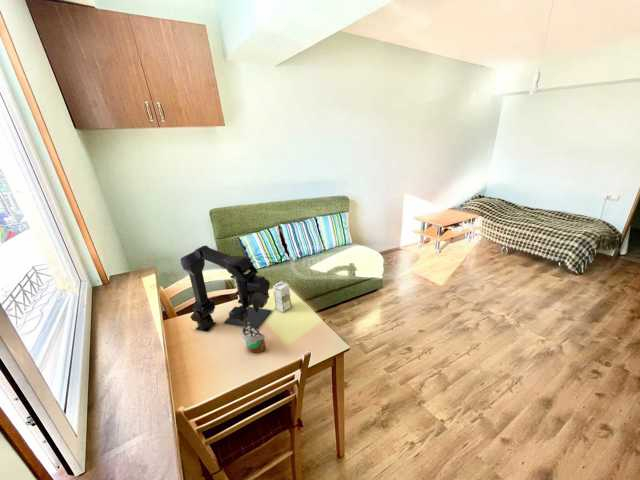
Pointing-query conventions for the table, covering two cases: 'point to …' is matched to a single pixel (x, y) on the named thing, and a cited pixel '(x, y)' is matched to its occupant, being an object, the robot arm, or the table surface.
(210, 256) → the robot arm
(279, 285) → the syrup box
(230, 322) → the desk pad
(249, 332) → the food container
